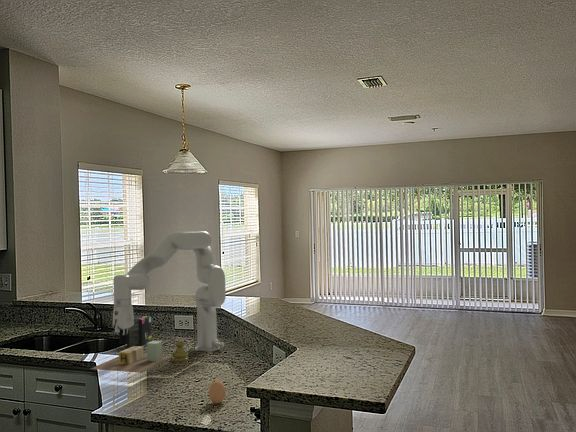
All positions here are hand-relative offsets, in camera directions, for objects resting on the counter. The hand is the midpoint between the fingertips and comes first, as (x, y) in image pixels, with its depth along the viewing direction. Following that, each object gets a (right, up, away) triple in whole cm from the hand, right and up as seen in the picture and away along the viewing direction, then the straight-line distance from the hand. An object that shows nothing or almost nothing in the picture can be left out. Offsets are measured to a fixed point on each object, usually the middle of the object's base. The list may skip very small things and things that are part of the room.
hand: (123, 343), depth 239 cm
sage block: (+13, -9, +6) cm, 17 cm away
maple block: (0, -7, 0) cm, 7 cm away
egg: (+49, -9, -50) cm, 70 cm away
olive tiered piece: (+25, -10, +5) cm, 27 cm away
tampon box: (-4, -11, +41) cm, 42 cm away
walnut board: (+4, -10, +2) cm, 11 cm away
